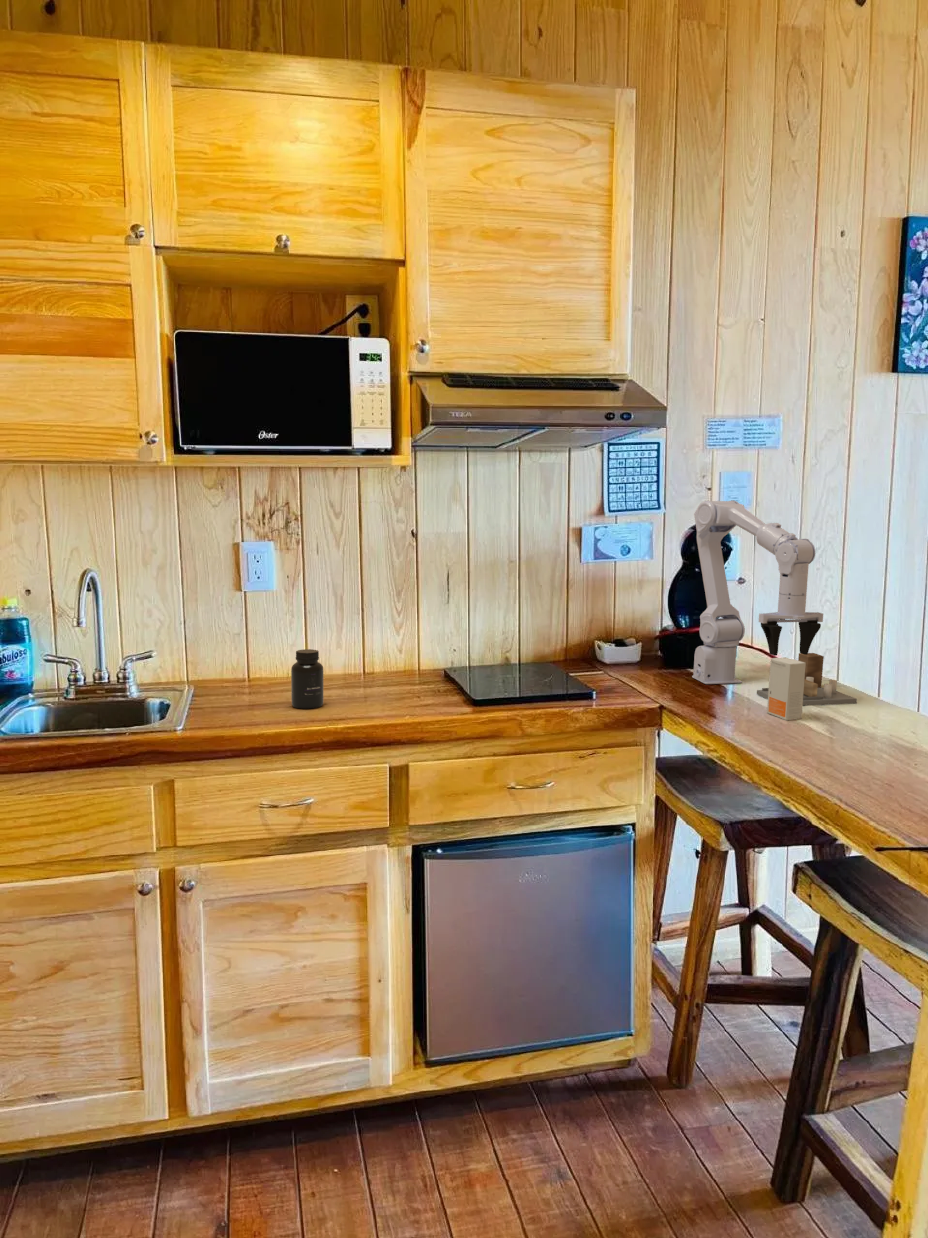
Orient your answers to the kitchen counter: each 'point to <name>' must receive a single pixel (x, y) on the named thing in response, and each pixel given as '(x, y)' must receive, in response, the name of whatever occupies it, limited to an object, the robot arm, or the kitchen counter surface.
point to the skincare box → (786, 688)
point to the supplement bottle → (307, 680)
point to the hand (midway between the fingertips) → (788, 654)
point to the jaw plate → (810, 688)
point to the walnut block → (813, 666)
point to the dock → (820, 695)
